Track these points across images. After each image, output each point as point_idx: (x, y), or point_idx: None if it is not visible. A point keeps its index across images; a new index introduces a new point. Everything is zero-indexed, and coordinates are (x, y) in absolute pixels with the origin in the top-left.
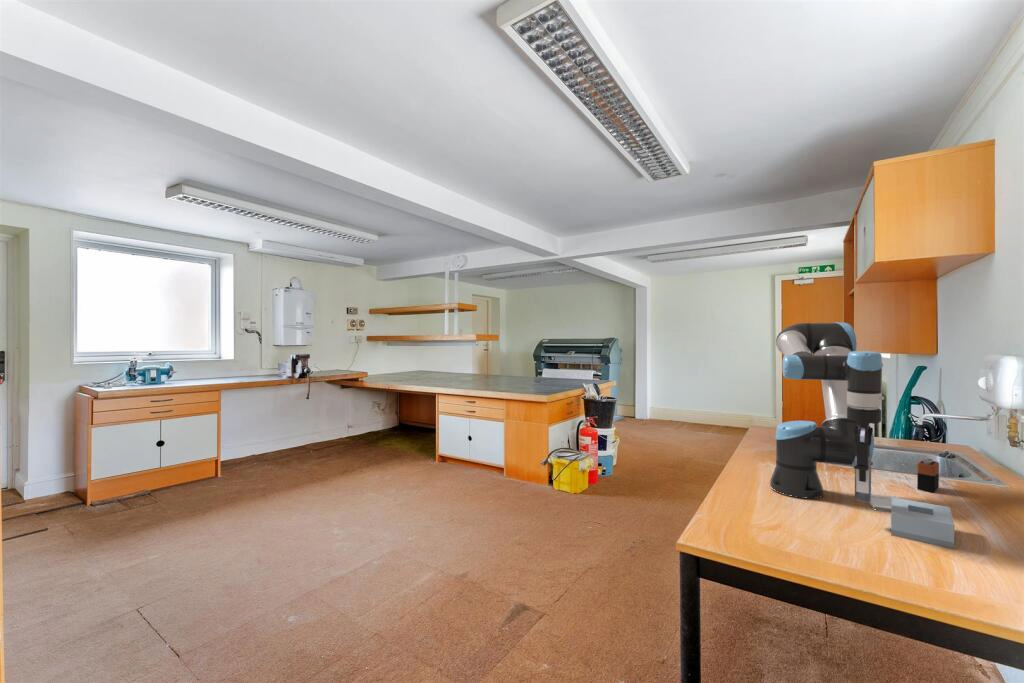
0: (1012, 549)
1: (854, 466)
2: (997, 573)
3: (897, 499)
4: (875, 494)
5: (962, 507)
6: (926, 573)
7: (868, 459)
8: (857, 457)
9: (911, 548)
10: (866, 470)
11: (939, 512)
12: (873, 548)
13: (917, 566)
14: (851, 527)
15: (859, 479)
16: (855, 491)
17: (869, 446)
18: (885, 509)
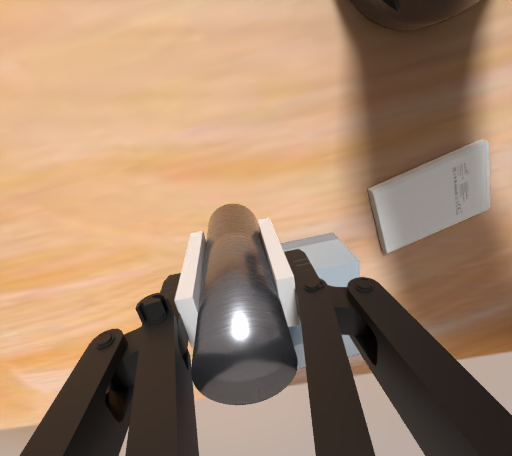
0: (301, 381)
1: (145, 309)
2: None
3: (345, 274)
4: (486, 168)
5: (489, 303)
6: (54, 341)
7: (214, 398)
8: (41, 428)
9: None
10: (188, 337)
11: (302, 352)
12: (82, 256)
13: (72, 326)
14: (178, 184)
15: (163, 283)
16: (217, 220)
17: (409, 430)
18: (375, 213)
